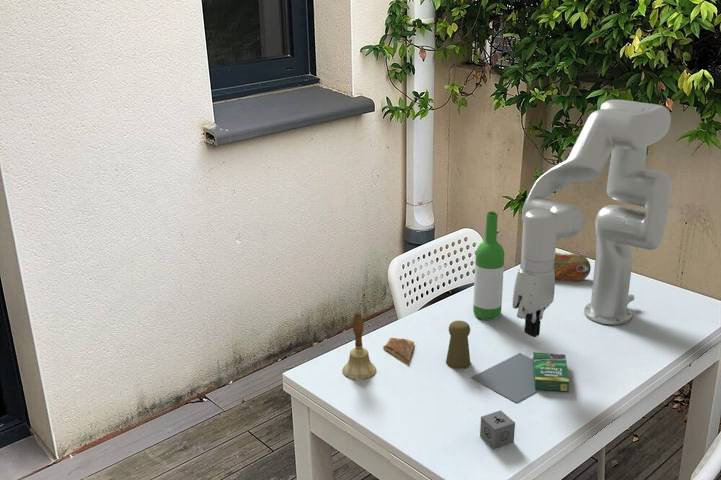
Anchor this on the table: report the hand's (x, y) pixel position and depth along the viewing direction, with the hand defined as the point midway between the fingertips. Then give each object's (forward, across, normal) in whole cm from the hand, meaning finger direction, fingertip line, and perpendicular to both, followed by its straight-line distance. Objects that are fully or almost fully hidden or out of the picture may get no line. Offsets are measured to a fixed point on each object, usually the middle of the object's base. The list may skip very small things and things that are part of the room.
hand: (531, 334), depth 180 cm
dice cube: (+10, +26, +13) cm, 31 cm away
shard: (+11, +16, -27) cm, 33 cm away
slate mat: (+10, +4, 0) cm, 11 cm away
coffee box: (+8, -7, +1) cm, 11 cm away
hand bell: (+10, +31, -27) cm, 42 cm away
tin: (+10, -51, -28) cm, 59 cm away
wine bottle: (+10, -15, -27) cm, 33 cm away
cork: (+10, +10, -14) cm, 20 cm away
